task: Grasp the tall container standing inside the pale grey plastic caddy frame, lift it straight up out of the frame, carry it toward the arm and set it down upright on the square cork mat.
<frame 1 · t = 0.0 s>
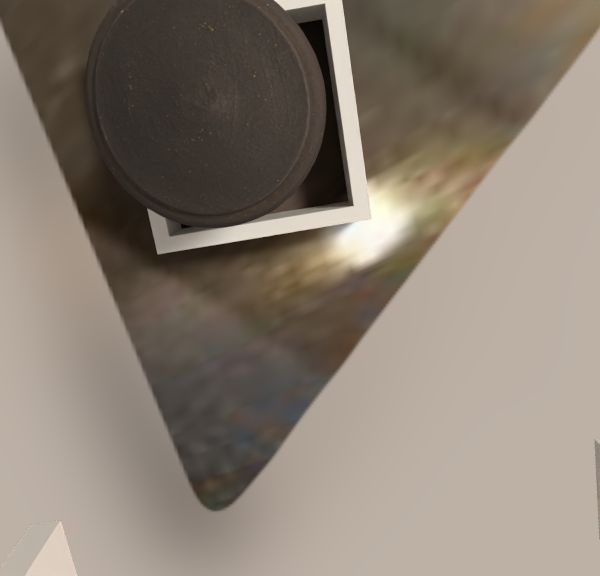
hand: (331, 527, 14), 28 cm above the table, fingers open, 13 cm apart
container: (249, 128, 39), resting in caddy frame
caddy frame: (249, 128, 38), on the table
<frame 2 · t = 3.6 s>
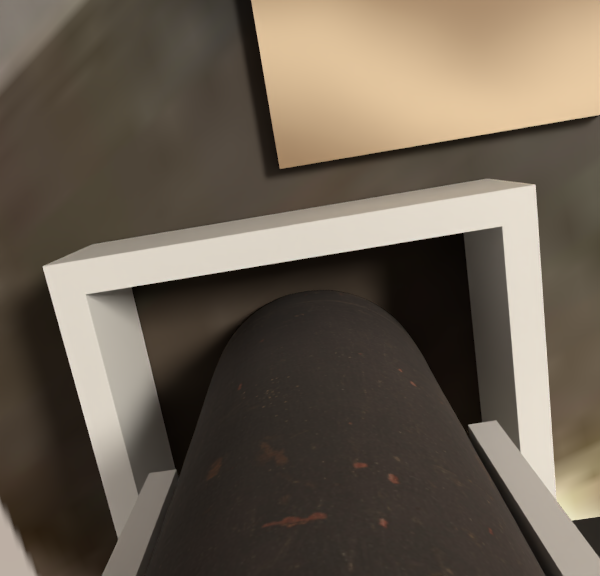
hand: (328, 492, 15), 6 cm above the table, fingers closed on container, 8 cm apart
container: (318, 393, 21), resting in caddy frame, touching gripper
caddy frame: (318, 395, 21), on the table
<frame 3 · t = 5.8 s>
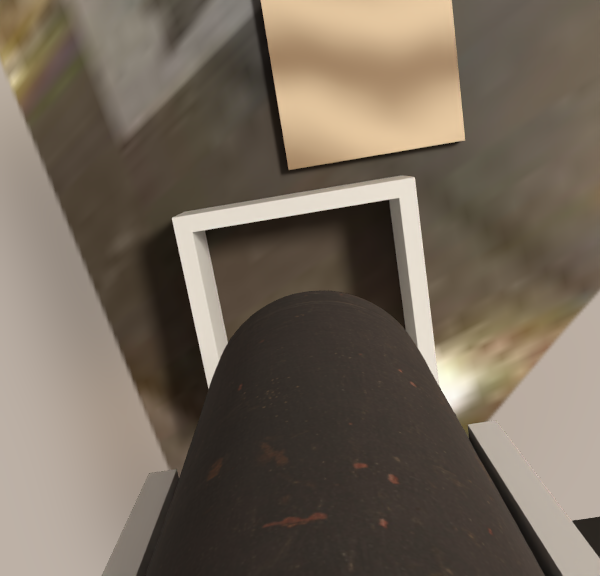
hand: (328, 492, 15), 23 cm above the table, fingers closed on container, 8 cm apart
container: (318, 393, 21), point 16 cm above the table, touching gripper
cork mat: (363, 63, 34), on the table
caddy frame: (310, 298, 37), on the table
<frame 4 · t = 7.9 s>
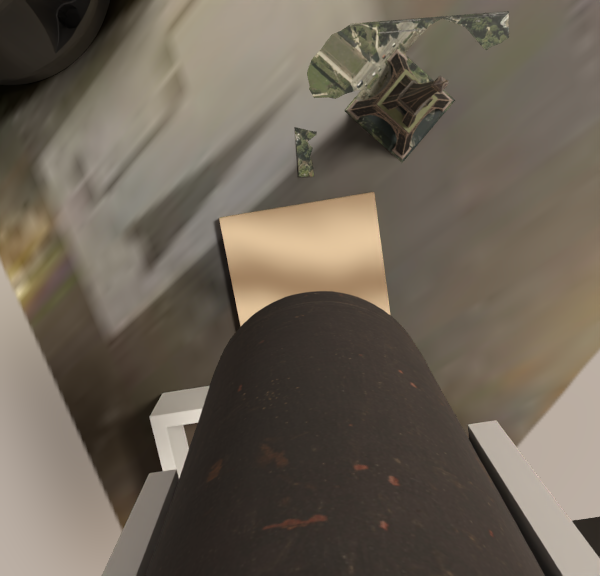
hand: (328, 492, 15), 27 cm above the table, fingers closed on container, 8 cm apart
container: (318, 394, 21), point 20 cm above the table, touching gripper
eiffel tower figurine: (399, 99, 39), on the table
cork mat: (308, 279, 41), on the table
caddy frame: (268, 460, 45), on the table
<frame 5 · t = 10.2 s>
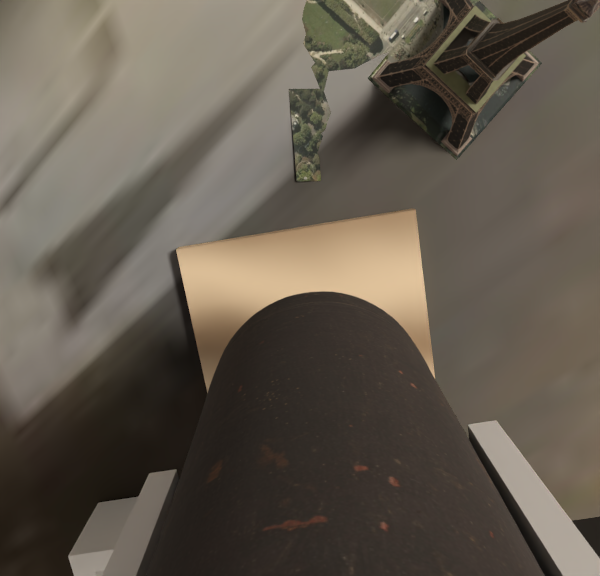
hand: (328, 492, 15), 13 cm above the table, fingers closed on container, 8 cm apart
container: (318, 394, 21), point 6 cm above the table, touching gripper
eiffel tower figurine: (454, 61, 25), on the table
cork mat: (313, 339, 27), on the table
when the fingers open (8 cm above the table, at t = 12.1 s): container drops 1 cm, resting on cork mat.
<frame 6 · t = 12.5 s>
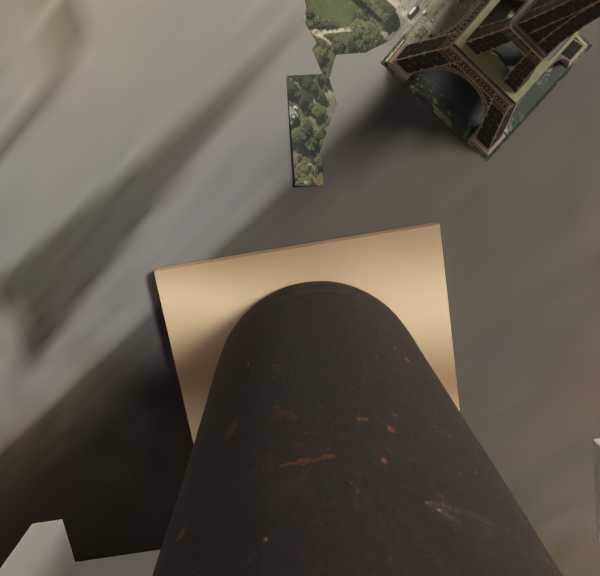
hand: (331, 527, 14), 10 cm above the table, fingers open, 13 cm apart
container: (316, 379, 23), resting on cork mat
eiffel tower figurine: (485, 43, 21), on the table
cork mat: (317, 375, 23), on the table
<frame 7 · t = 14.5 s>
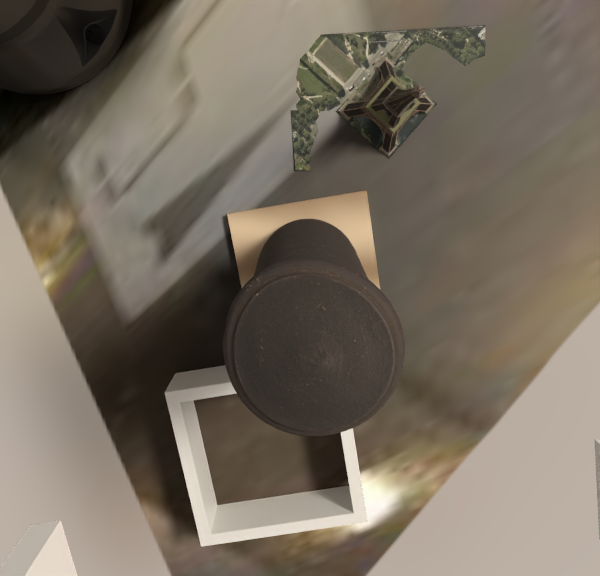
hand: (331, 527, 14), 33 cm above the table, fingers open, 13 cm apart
container: (307, 269, 45), resting on cork mat
eiffel tower figurine: (387, 101, 43), on the table
cork mat: (307, 269, 46), on the table
caddy frame: (271, 435, 49), on the table
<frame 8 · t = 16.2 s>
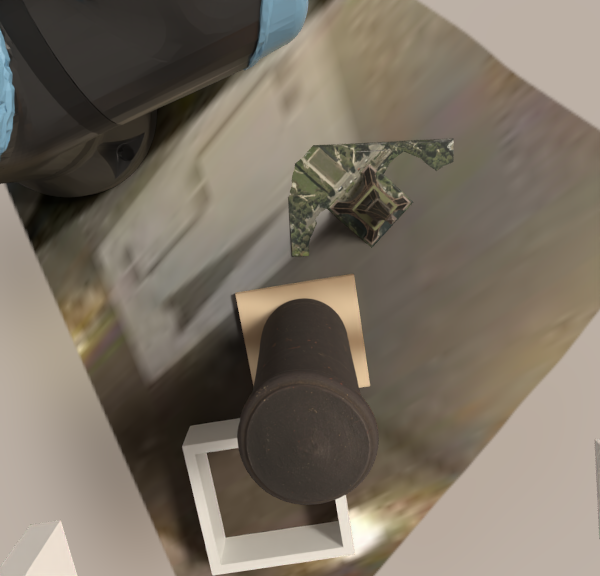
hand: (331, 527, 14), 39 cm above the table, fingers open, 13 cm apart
container: (303, 340, 53), resting on cork mat
eiffel tower figurine: (371, 198, 51), on the table
cork mat: (304, 339, 53), on the table
caddy frame: (272, 477, 57), on the table
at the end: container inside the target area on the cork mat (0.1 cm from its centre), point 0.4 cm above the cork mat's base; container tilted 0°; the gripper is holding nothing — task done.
